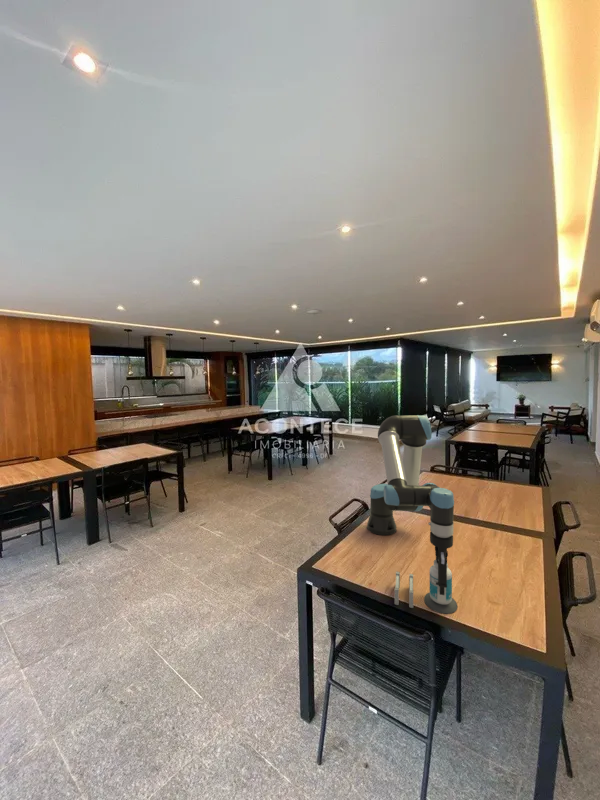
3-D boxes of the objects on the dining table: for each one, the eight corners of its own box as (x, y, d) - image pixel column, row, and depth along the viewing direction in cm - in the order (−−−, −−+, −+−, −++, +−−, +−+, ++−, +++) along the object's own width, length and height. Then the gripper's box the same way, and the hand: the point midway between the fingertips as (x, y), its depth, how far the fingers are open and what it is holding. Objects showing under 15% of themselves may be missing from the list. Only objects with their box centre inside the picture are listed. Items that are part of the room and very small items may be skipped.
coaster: (423, 590, 125) (423, 589, 125) (455, 596, 122) (455, 594, 122) (424, 609, 115) (424, 608, 115) (459, 616, 111) (459, 615, 111)
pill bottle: (445, 591, 122) (446, 556, 121) (455, 605, 115) (456, 568, 114) (425, 592, 122) (426, 557, 121) (434, 606, 114) (435, 569, 113)
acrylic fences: (395, 584, 129) (395, 571, 128) (413, 588, 127) (413, 574, 126) (394, 604, 118) (394, 589, 117) (413, 608, 116) (413, 593, 115)
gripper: (428, 519, 127) (427, 575, 129) (431, 545, 108) (430, 611, 110) (449, 521, 125) (448, 579, 126) (456, 549, 105) (455, 616, 107)
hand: (440, 594), depth 118 cm, fingers closed on pill bottle, 7 cm apart
